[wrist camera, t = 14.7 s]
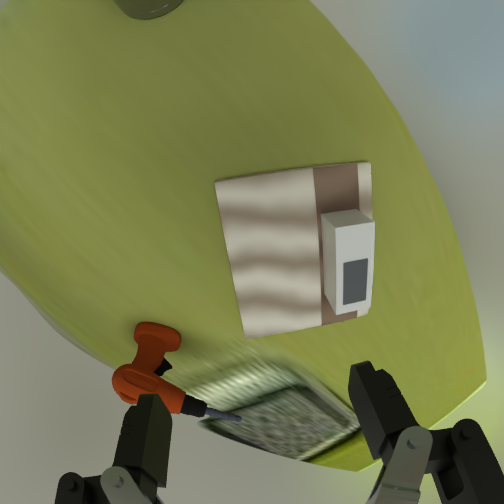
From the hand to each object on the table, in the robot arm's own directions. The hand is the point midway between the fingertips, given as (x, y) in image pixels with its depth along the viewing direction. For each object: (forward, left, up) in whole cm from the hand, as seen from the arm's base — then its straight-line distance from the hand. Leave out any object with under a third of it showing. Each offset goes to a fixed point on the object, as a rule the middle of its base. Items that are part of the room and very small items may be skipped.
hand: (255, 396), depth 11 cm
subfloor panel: (+8, +8, -28) cm, 30 cm away
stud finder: (+8, +13, -27) cm, 31 cm away
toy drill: (+20, -12, -28) cm, 37 cm away
